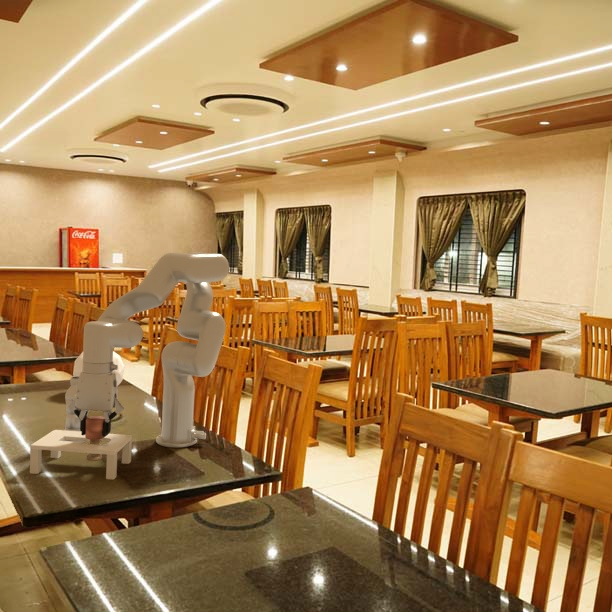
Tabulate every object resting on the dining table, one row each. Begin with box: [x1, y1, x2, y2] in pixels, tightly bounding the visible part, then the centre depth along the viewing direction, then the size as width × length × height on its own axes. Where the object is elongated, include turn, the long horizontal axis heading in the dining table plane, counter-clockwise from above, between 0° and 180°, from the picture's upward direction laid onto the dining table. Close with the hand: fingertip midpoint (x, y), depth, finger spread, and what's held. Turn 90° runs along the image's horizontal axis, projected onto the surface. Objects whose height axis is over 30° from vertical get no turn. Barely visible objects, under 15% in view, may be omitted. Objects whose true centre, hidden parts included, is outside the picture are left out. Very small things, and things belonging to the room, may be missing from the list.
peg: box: [85, 415, 105, 462], centre depth 163 cm, size 5×5×11 cm
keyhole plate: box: [29, 429, 133, 480], centre depth 164 cm, size 22×14×8 cm, turn 88°
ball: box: [72, 350, 125, 387], centre depth 244 cm, size 19×20×20 cm
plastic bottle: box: [63, 376, 85, 443], centre depth 182 cm, size 6×7×20 cm
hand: (95, 433), depth 163 cm, fingers closed on peg, 5 cm apart
